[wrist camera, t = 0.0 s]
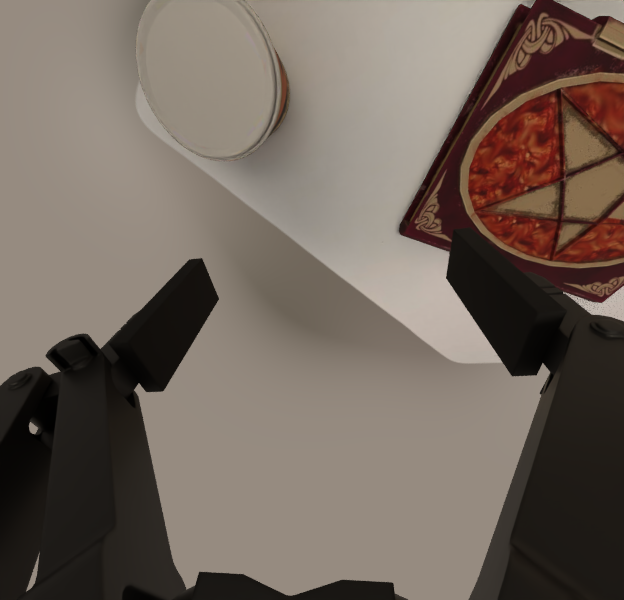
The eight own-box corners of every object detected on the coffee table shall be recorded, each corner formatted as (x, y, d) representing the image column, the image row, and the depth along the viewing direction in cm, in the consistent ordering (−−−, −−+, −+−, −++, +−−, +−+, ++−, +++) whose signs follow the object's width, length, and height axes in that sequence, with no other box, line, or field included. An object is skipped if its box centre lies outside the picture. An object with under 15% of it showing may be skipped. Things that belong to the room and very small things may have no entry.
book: (397, 227, 35) (405, 243, 31) (522, -8, 22) (563, -31, 18) (580, 291, 38) (609, 314, 34) (776, 121, 26) (857, 125, 22)
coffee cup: (293, 151, 30) (274, 172, 20) (209, 138, 30) (147, 152, 20) (303, 36, 25) (283, -14, 15) (200, 18, 24) (110, -44, 14)
